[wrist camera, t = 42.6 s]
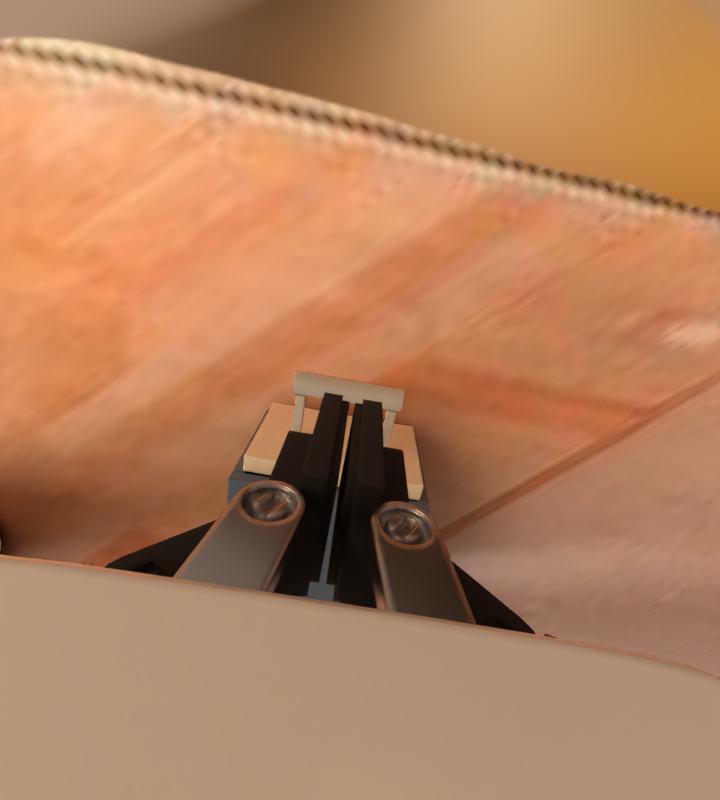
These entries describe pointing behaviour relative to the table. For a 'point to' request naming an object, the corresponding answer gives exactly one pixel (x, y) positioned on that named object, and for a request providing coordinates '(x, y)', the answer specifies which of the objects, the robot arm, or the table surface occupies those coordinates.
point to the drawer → (304, 419)
